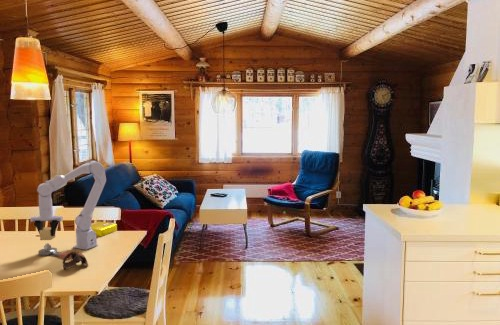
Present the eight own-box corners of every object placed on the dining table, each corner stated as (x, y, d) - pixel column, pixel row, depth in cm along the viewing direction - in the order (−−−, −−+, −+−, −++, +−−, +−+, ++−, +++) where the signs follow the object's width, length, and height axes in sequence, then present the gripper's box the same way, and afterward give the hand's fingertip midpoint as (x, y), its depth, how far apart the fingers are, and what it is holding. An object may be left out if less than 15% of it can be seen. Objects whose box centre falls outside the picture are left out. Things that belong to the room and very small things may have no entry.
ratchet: (80, 255, 192) (80, 246, 191) (66, 261, 185) (66, 251, 184) (49, 249, 201) (48, 240, 200) (34, 254, 194) (34, 245, 193)
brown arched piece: (90, 270, 175) (80, 256, 171) (70, 281, 173) (59, 268, 169) (88, 255, 185) (79, 242, 181) (69, 265, 183) (59, 253, 179)
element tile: (98, 228, 241) (98, 220, 240) (118, 230, 235) (118, 222, 235) (79, 234, 227) (78, 226, 227) (99, 237, 221) (99, 229, 221)
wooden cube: (55, 237, 199) (54, 227, 198) (50, 240, 194) (50, 229, 193) (45, 237, 199) (44, 227, 198) (40, 240, 194) (39, 230, 193)
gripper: (64, 206, 199) (66, 232, 200) (34, 206, 198) (36, 233, 200) (58, 209, 192) (60, 237, 193) (27, 209, 191) (29, 237, 193)
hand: (47, 235), depth 196 cm, fingers closed on wooden cube, 5 cm apart
